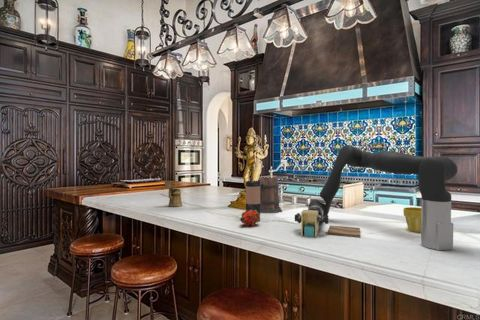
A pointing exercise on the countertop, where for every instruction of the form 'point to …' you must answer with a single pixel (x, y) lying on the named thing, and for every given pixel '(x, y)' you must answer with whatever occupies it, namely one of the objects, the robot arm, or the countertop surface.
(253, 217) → the dragon fruit
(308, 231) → the teal block
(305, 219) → the brass cover
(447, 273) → the countertop surface
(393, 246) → the countertop surface
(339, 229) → the walnut board
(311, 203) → the robot arm
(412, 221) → the plant pot
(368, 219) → the countertop surface
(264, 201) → the tankard
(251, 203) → the travel mug
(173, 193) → the wooden mug
